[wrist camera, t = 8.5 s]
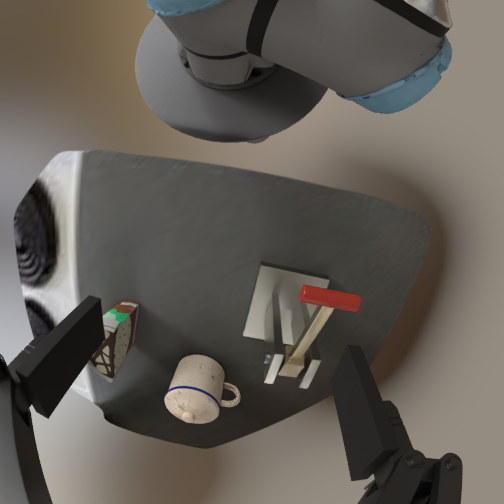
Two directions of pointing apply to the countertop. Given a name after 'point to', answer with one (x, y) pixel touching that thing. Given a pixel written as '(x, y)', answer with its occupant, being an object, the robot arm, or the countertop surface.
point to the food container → (115, 339)
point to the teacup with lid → (198, 390)
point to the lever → (315, 323)
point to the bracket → (282, 317)
